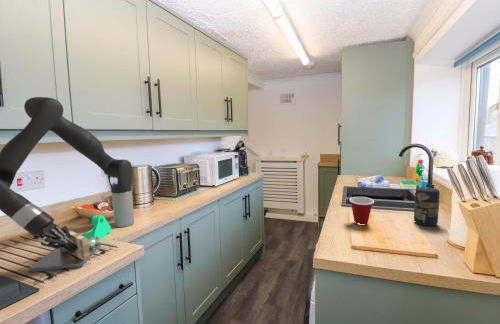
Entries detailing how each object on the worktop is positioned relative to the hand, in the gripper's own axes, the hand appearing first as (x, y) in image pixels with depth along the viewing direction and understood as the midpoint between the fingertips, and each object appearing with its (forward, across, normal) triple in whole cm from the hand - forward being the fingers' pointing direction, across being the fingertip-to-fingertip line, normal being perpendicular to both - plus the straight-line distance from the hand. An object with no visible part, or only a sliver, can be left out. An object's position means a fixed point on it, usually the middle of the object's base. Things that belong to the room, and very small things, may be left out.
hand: (75, 250), depth 94 cm
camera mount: (+1, +26, +6) cm, 26 cm away
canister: (+107, +8, -103) cm, 149 cm away
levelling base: (0, +6, +7) cm, 10 cm away
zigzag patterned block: (0, +5, +4) cm, 6 cm away
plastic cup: (+87, +15, -82) cm, 121 cm away
